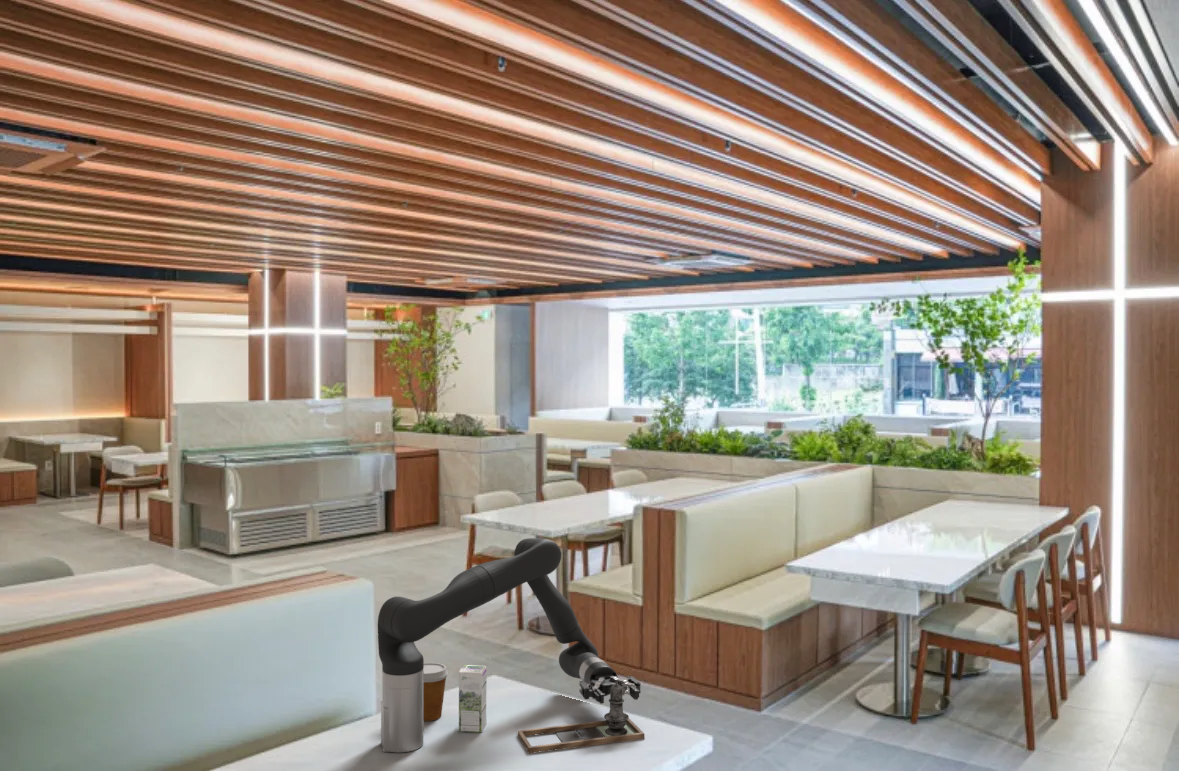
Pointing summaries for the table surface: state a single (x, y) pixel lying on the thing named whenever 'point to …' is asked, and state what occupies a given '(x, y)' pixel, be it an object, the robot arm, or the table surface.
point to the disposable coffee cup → (433, 690)
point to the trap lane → (574, 740)
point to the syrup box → (472, 698)
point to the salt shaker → (616, 713)
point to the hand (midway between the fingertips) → (619, 697)
